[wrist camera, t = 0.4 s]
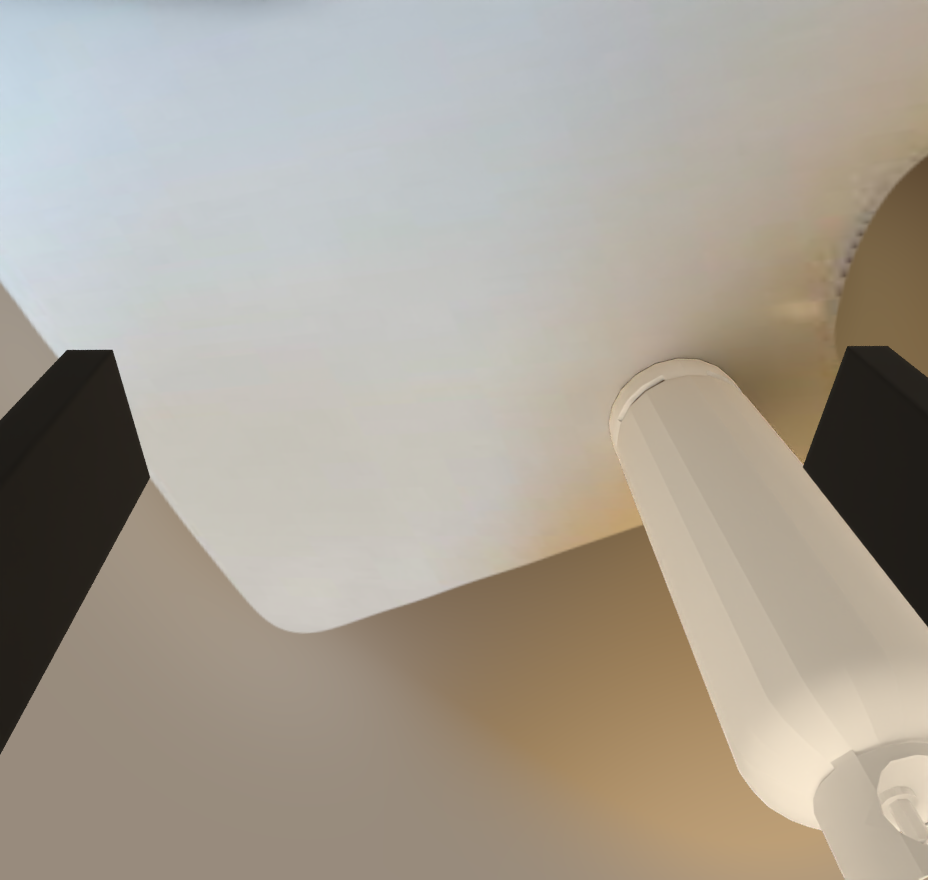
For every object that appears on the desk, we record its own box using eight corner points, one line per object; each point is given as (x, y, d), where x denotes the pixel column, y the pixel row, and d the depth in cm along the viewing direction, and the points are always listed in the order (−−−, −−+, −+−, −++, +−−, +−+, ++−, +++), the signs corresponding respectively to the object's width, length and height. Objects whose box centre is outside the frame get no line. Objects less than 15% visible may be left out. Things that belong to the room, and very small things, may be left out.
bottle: (609, 480, 44) (787, 996, 20) (608, 365, 41) (827, 832, 16) (735, 468, 44) (1075, 980, 20) (746, 351, 40) (1189, 809, 16)
